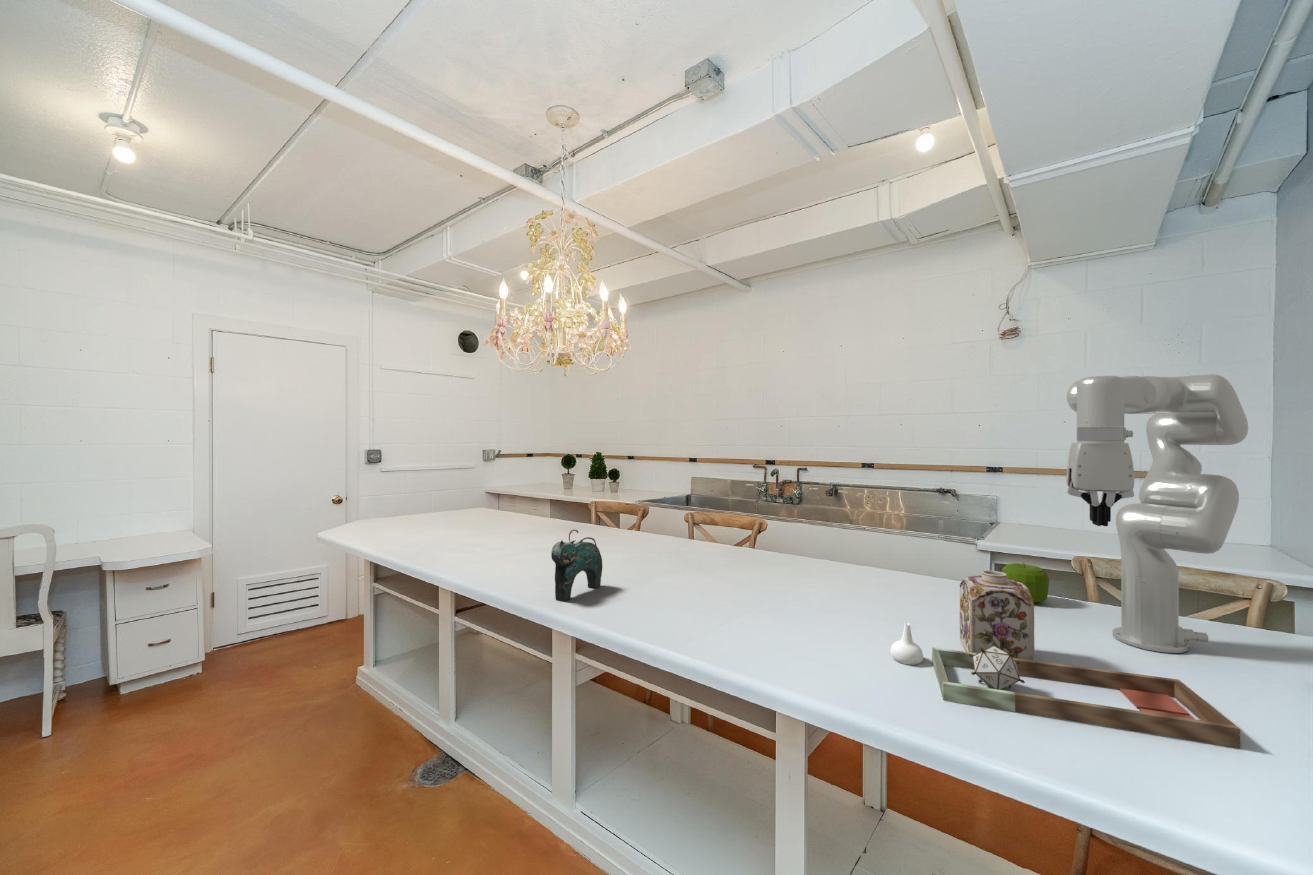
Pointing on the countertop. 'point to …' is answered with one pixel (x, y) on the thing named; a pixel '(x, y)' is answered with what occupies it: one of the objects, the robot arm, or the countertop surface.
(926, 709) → the countertop surface
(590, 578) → the teal animal figurine
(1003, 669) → the game die
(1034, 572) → the apple
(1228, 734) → the rectangular wooden frame
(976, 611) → the decorative jar
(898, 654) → the garlic bulb
